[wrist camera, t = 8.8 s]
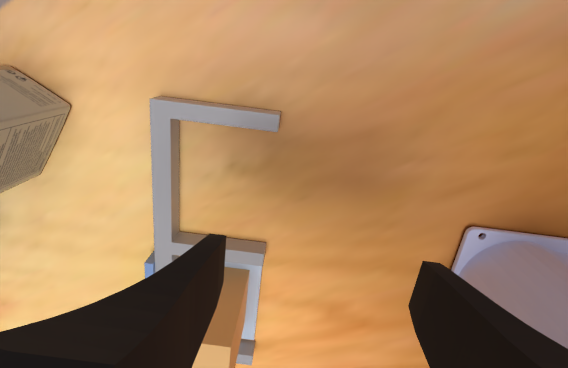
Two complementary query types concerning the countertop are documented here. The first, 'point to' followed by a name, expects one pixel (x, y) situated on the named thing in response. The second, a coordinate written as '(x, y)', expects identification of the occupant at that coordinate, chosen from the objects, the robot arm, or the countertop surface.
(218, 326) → the tan cardboard-colored block
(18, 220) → the countertop surface
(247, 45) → the countertop surface
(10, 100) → the skincare box
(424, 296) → the robot arm
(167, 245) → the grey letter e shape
